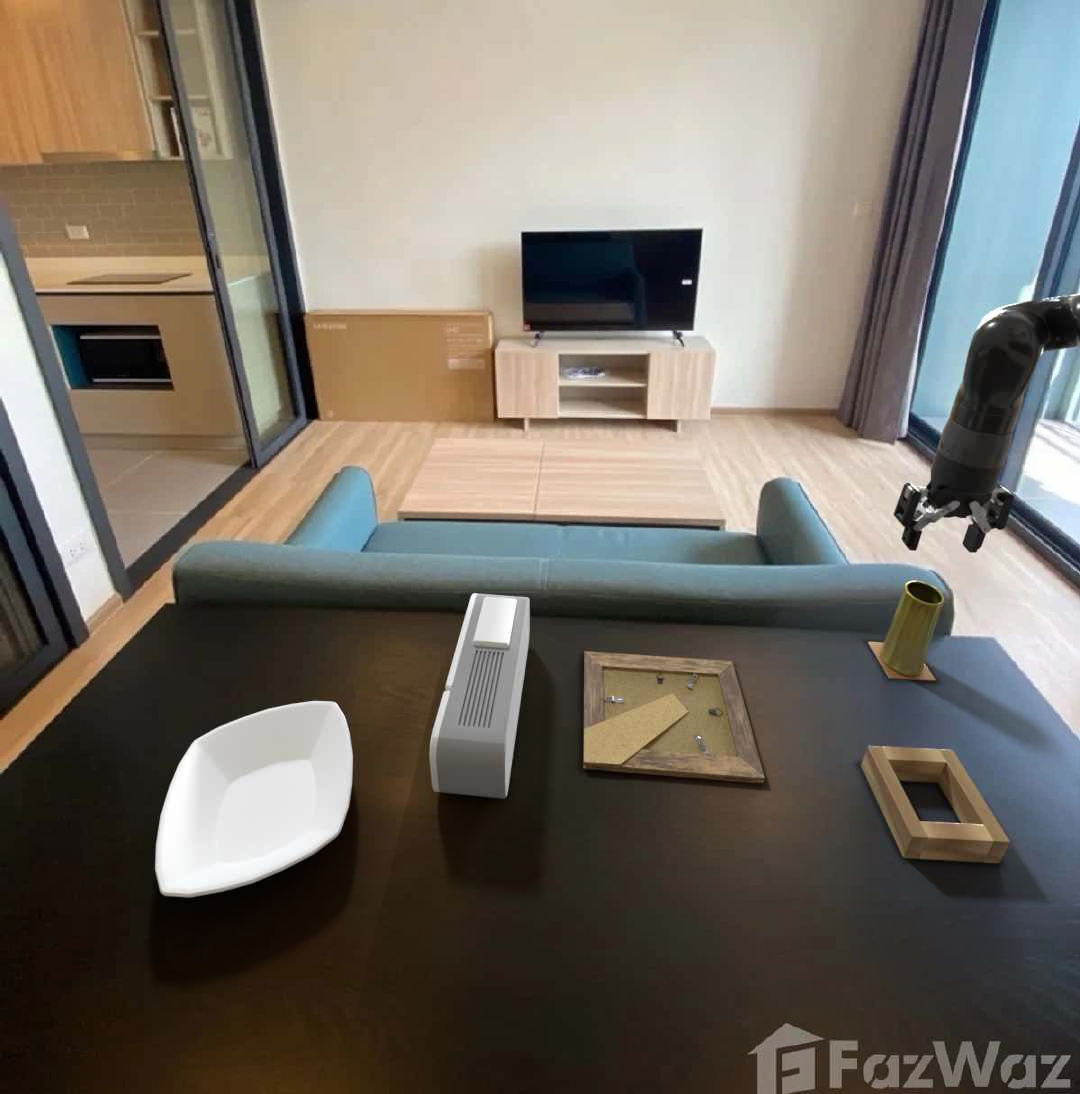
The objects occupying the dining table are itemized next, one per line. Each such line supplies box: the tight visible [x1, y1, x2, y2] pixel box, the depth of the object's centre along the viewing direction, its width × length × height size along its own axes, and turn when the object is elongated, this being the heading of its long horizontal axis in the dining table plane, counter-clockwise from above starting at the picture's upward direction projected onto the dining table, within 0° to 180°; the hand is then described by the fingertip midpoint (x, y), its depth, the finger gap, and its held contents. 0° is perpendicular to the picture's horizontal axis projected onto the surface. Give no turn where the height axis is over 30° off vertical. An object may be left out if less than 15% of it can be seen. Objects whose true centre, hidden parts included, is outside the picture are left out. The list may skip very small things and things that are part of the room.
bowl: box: [154, 700, 354, 898], centre depth 72 cm, size 22×22×5 cm
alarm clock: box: [428, 592, 531, 800], centre depth 83 cm, size 27×9×12 cm, turn 175°
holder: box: [860, 745, 1011, 864], centre depth 72 cm, size 11×11×4 cm
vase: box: [880, 580, 945, 676], centre depth 91 cm, size 6×6×14 cm
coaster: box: [867, 641, 937, 682], centre depth 94 cm, size 7×7×1 cm
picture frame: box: [582, 650, 766, 784], centre depth 85 cm, size 19×2×24 cm
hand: (939, 548), depth 86 cm, fingers open, 8 cm apart
